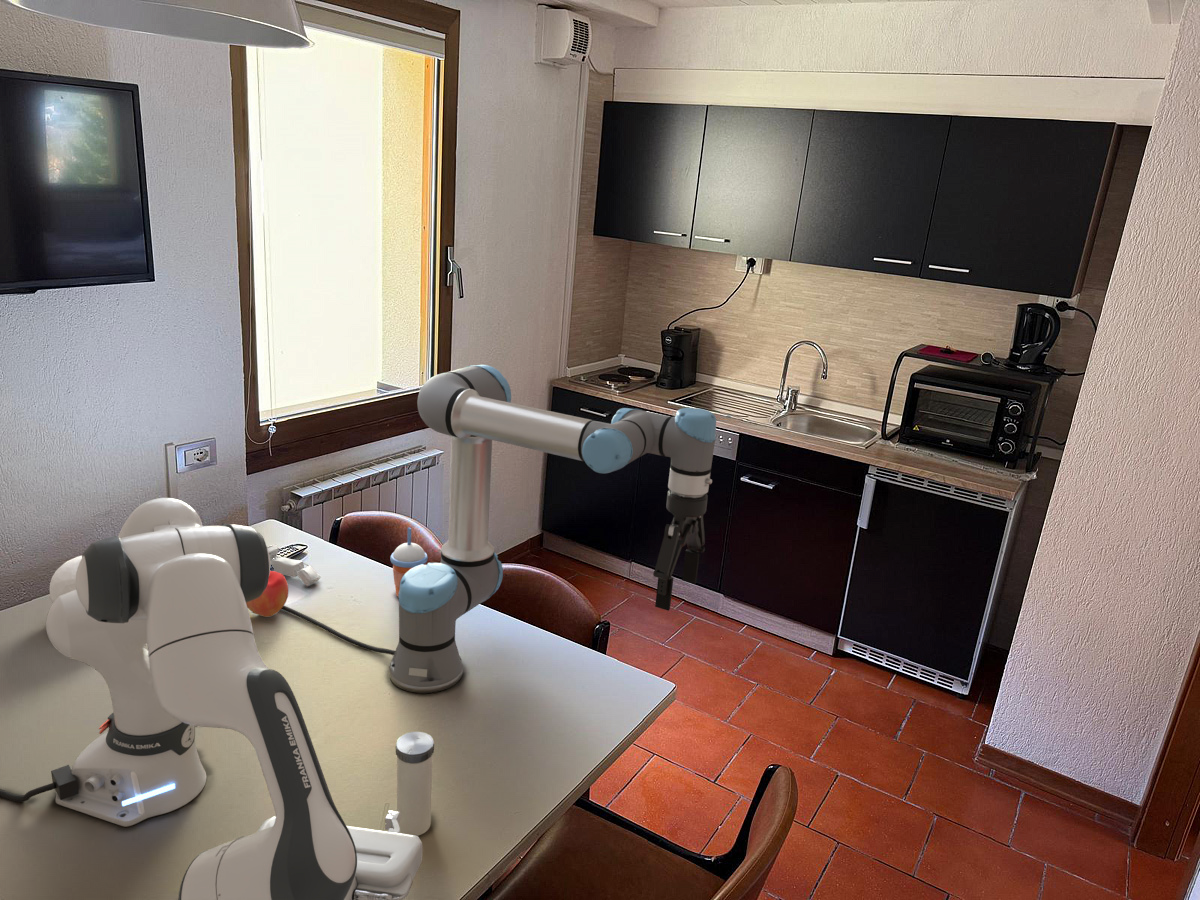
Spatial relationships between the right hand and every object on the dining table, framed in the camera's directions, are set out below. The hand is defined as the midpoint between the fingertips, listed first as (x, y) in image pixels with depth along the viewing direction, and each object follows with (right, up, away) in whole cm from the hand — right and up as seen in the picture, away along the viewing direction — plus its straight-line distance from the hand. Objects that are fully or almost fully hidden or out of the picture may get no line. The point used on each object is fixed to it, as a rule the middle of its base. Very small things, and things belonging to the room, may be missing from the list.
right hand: (676, 594), depth 165 cm
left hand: (-46, -19, -54) cm, 73 cm away
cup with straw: (-63, -9, +50) cm, 81 cm away
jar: (-45, -33, -25) cm, 62 cm away
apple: (-93, -11, +36) cm, 100 cm away
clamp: (-95, -5, +55) cm, 110 cm away
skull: (-127, -11, +26) cm, 130 cm away
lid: (-44, -19, -30) cm, 56 cm away
